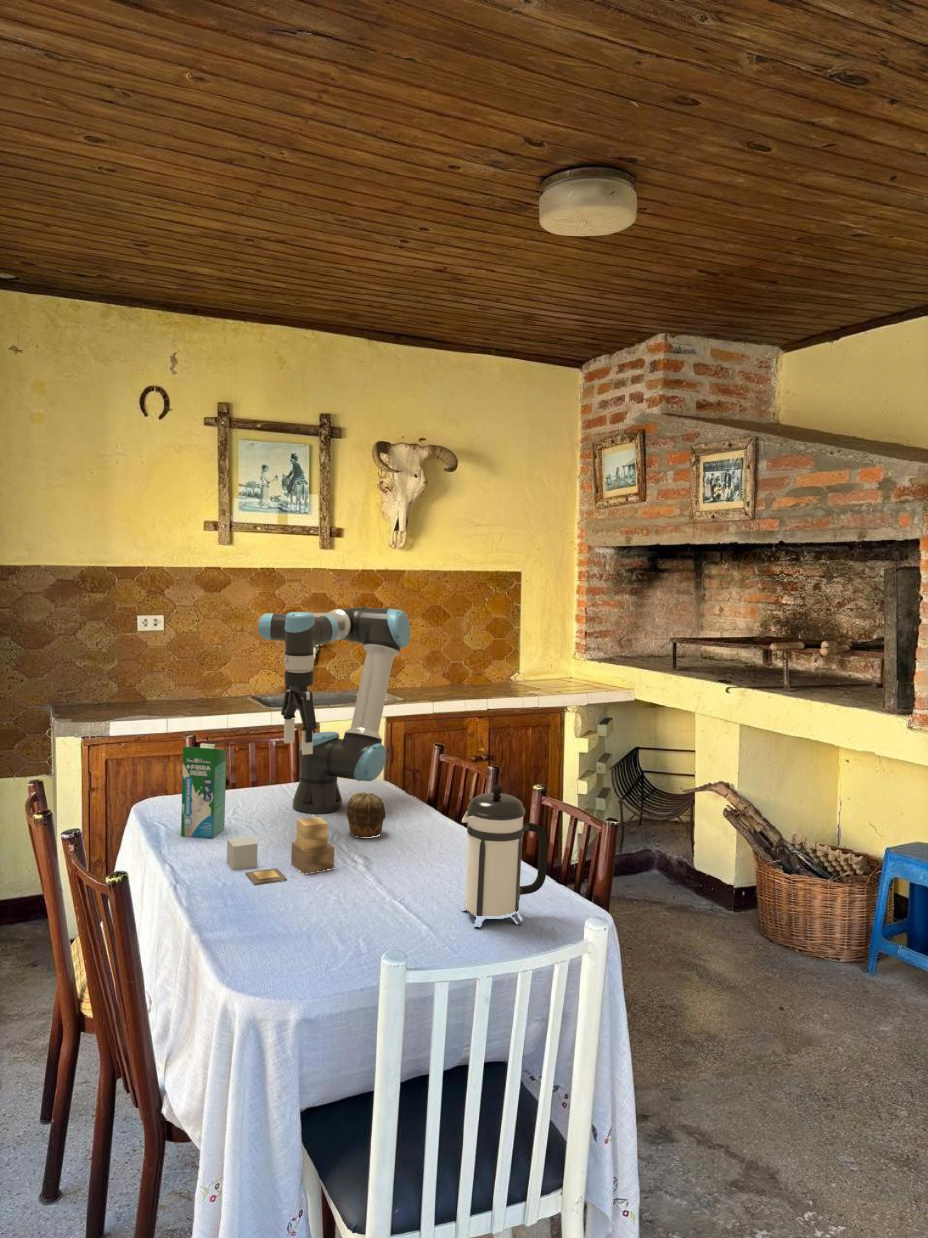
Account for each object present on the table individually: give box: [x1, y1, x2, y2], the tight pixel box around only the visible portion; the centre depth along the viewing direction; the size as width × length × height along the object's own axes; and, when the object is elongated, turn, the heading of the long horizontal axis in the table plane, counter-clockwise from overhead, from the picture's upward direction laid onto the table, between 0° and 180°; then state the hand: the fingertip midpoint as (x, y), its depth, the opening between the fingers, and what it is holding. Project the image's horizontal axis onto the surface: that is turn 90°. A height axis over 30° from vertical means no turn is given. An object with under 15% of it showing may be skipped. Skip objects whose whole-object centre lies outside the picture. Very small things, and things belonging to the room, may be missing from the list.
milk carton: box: [180, 743, 227, 839], centre depth 253 cm, size 9×9×25 cm
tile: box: [245, 867, 288, 886], centre depth 222 cm, size 8×8×1 cm
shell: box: [346, 791, 386, 837], centre depth 258 cm, size 11×11×12 cm
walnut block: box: [290, 841, 335, 874], centre depth 230 cm, size 8×8×6 cm
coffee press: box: [461, 784, 549, 916], centre depth 203 cm, size 17×16×30 cm
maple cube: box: [295, 816, 329, 850], centre depth 230 cm, size 6×6×6 cm
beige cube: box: [226, 836, 258, 871], centre depth 230 cm, size 6×6×6 cm
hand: (298, 748), depth 246 cm, fingers open, 13 cm apart
